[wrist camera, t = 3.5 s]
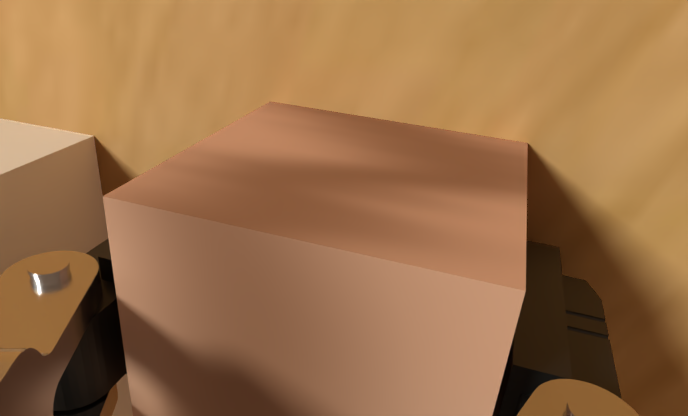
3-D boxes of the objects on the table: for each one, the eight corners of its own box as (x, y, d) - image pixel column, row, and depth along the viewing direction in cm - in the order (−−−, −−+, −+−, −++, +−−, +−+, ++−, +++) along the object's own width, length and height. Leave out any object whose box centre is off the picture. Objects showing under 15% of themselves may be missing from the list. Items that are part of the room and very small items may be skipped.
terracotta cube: (527, 141, 10) (525, 290, 5) (477, 356, 12) (447, 583, 8) (271, 100, 11) (102, 196, 7) (268, 302, 13) (141, 473, 9)
